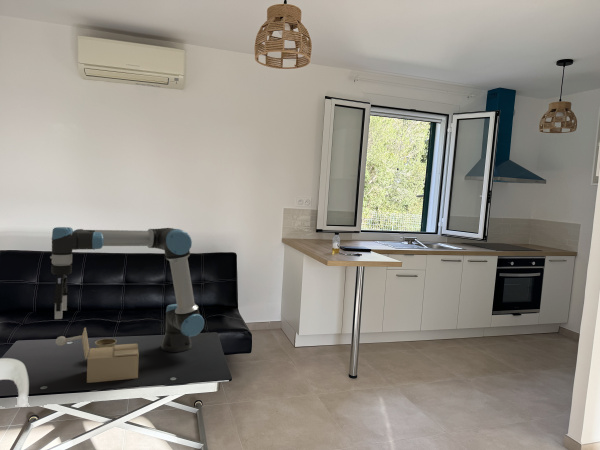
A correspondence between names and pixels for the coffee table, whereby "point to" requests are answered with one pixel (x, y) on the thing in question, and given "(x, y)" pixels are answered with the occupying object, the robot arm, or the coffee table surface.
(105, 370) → the carton
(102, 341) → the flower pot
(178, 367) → the coffee table surface
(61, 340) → the flap
